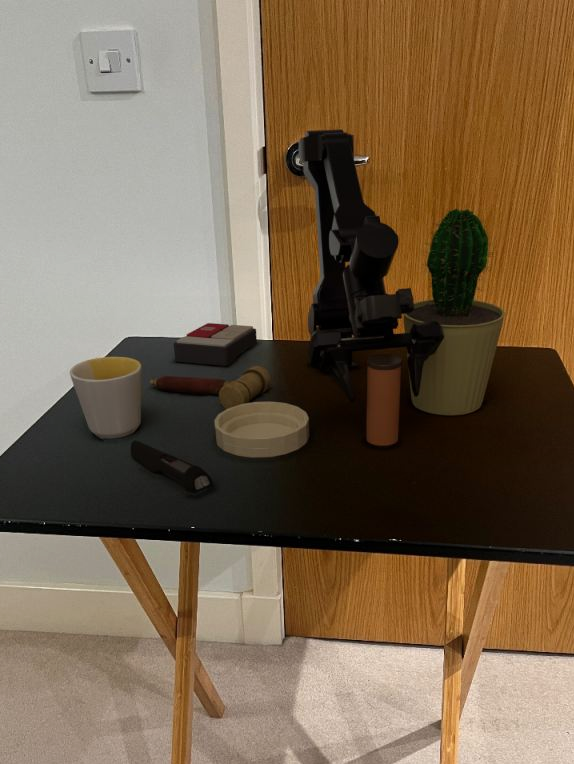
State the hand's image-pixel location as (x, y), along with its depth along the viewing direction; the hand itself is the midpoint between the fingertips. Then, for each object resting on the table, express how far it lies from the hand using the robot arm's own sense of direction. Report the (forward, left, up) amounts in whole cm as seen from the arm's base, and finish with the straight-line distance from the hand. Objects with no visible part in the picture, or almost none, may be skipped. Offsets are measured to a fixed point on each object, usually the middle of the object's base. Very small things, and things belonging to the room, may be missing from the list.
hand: (385, 398), depth 106 cm
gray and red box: (+2, -53, -7) cm, 53 cm away
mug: (+30, -27, -7) cm, 41 cm away
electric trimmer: (+30, -8, -7) cm, 32 cm away
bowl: (+14, -11, -7) cm, 19 cm away
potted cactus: (-18, -8, -7) cm, 21 cm away
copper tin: (0, -1, -7) cm, 7 cm away
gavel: (+14, -33, -7) cm, 37 cm away
